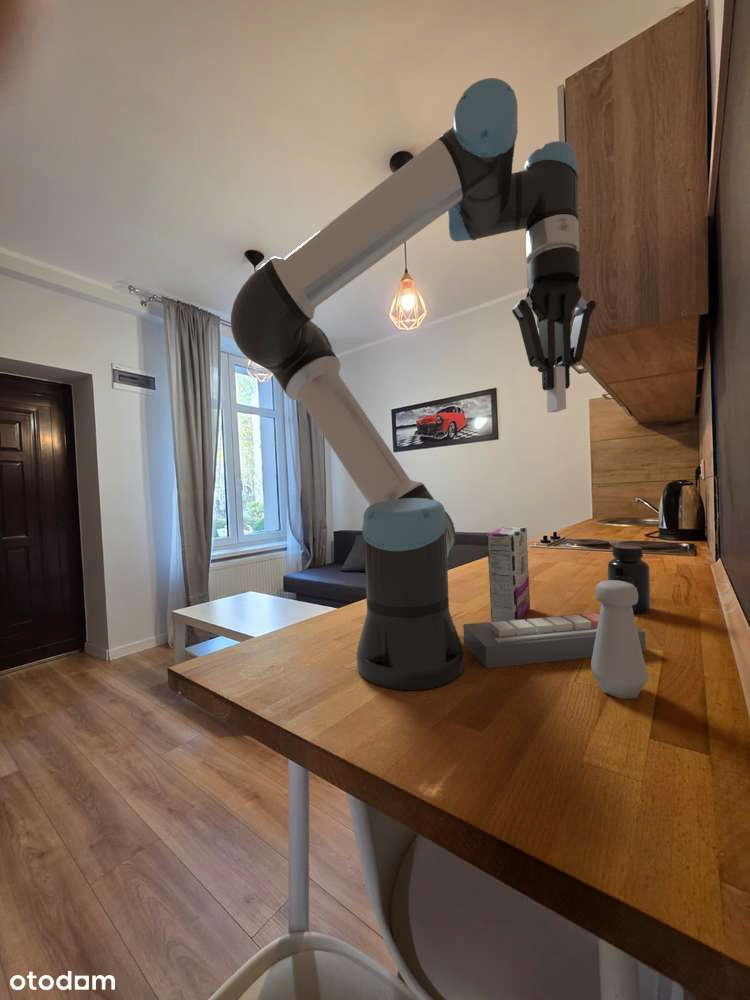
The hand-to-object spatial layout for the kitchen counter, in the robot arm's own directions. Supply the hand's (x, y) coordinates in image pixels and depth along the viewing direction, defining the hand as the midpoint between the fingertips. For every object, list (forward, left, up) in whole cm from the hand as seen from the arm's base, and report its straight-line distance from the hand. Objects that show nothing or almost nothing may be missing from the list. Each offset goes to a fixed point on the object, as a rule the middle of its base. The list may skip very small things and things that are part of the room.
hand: (556, 410), depth 62 cm
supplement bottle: (+20, +10, -37) cm, 43 cm away
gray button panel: (-4, -3, -36) cm, 37 cm away
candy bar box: (-3, +12, -37) cm, 39 cm away
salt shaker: (-3, -16, -37) cm, 40 cm away
